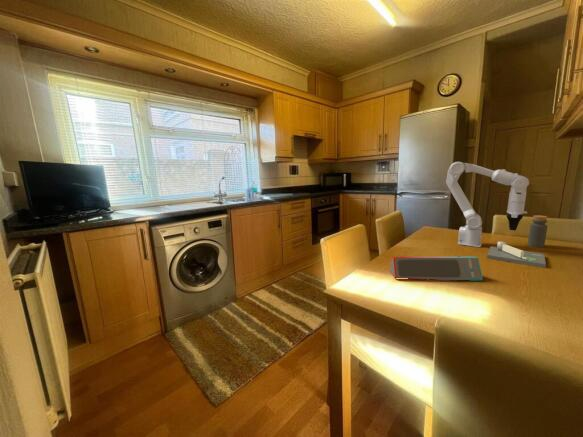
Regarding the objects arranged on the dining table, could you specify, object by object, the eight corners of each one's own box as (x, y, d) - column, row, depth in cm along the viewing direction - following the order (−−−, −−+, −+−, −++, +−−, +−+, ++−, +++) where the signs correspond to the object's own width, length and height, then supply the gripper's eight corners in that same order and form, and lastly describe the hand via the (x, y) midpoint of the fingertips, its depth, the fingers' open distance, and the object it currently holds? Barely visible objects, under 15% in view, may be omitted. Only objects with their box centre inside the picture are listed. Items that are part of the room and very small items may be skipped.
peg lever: (495, 248, 113) (496, 241, 112) (501, 248, 113) (502, 241, 112) (522, 259, 99) (523, 251, 98) (530, 259, 99) (531, 251, 98)
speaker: (475, 251, 91) (391, 251, 95) (488, 272, 83) (397, 271, 88) (466, 266, 96) (388, 265, 101) (478, 286, 89) (393, 285, 93)
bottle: (547, 247, 116) (552, 217, 113) (535, 247, 117) (540, 217, 114) (535, 243, 122) (540, 214, 119) (524, 244, 122) (528, 215, 119)
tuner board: (486, 258, 107) (487, 254, 107) (490, 249, 118) (490, 246, 117) (545, 267, 95) (545, 263, 94) (543, 256, 105) (543, 253, 105)
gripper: (528, 204, 105) (524, 234, 107) (528, 200, 115) (524, 228, 118) (507, 203, 109) (503, 232, 112) (508, 199, 120) (505, 226, 122)
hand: (512, 230), depth 115 cm, fingers closed
